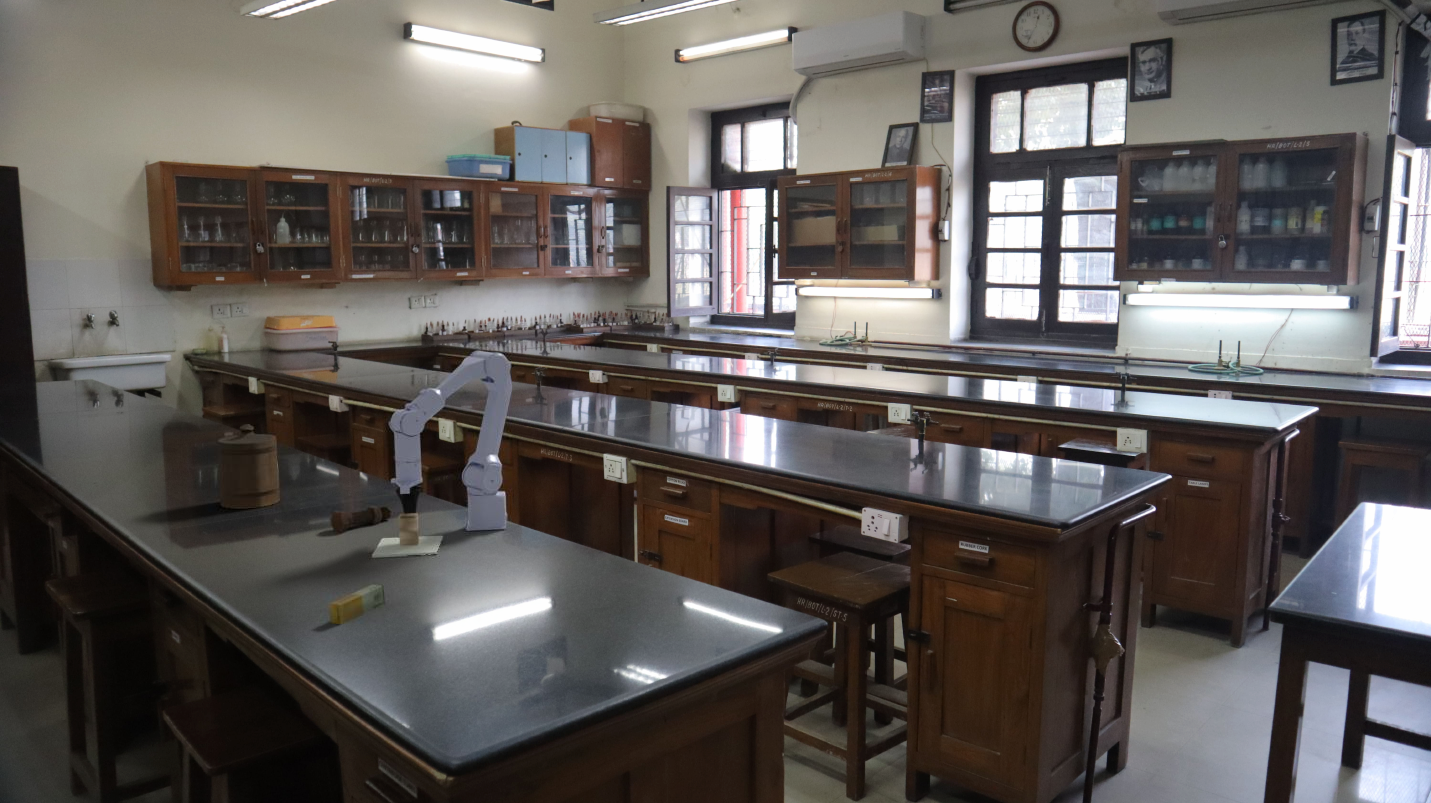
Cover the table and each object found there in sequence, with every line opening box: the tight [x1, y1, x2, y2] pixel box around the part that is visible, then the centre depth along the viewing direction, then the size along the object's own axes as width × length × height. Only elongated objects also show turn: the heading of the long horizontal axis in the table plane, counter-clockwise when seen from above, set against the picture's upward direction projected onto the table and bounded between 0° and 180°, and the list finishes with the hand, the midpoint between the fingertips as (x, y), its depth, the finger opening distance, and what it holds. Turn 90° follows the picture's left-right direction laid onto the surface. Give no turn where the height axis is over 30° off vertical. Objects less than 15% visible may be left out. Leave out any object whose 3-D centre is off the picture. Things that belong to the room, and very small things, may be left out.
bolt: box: [330, 505, 393, 533], centre depth 244 cm, size 6×5×15 cm
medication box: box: [328, 583, 386, 625], centre depth 182 cm, size 12×3×4 cm, turn 158°
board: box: [371, 535, 444, 559], centre depth 225 cm, size 14×14×1 cm
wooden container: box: [217, 423, 281, 510], centre depth 266 cm, size 15×15×22 cm
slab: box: [398, 512, 420, 546], centre depth 225 cm, size 4×2×7 cm, turn 100°
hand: (410, 516), depth 229 cm, fingers closed
